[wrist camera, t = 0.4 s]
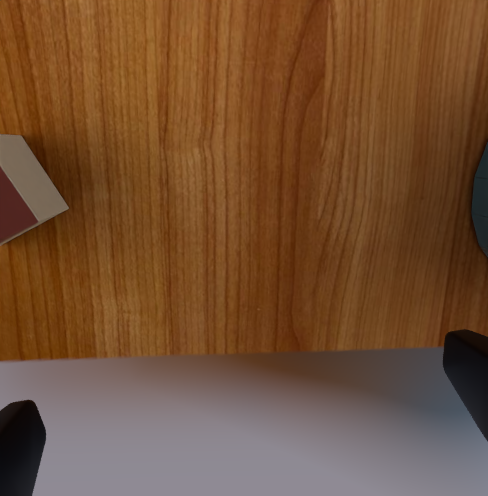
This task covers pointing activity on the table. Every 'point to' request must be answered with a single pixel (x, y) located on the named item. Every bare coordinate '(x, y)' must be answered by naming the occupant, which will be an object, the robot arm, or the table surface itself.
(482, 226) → the shallow round tray
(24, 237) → the table surface
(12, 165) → the red banded white pillar
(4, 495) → the robot arm
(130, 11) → the table surface
